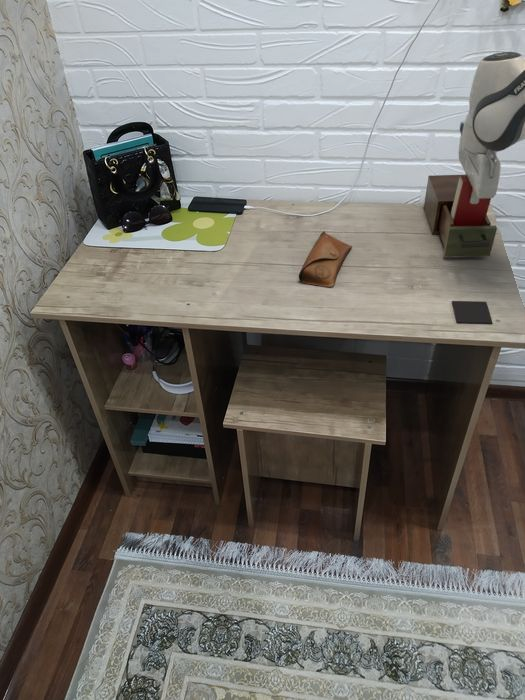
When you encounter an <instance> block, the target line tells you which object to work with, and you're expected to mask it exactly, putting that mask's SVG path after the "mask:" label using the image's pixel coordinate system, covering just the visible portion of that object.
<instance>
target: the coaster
mask: <svg viewBox="0 0 525 700" xmlns="http://www.w3.org/2000/svg"><path fill="white" fill-rule="evenodd" d="M451 305H452V309H453V314H454V317H455V318H454V319H455V322H456V324H469V325H471V324H475V325H493V319H492V316H491V313H490V309H489V306H488V303H487V301H482V300H481V301H479V300H478V301H476V300H475V301H474V300H452V301H451Z"/></svg>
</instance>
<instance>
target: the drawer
mask: <svg viewBox="0 0 525 700" xmlns="http://www.w3.org/2000/svg"><path fill="white" fill-rule="evenodd" d="M452 207H453V204H442V207H441V212H440V218H439V224H438V230H439V232H440V238H441V241H442V244H443V247H444V249H443V257H444V258H447V257H448V258H449V257H451V258H452V257H490V256H491V253H492V250H493V246H494V242H495V237H496V234H497V231H498V227H497V225H492V223H491V221H490V219H489V216H488V215H486V218H485V221H484V225H483V226H454V223H453V221H452V218H451V216H450V215H451V211H452Z"/></svg>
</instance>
